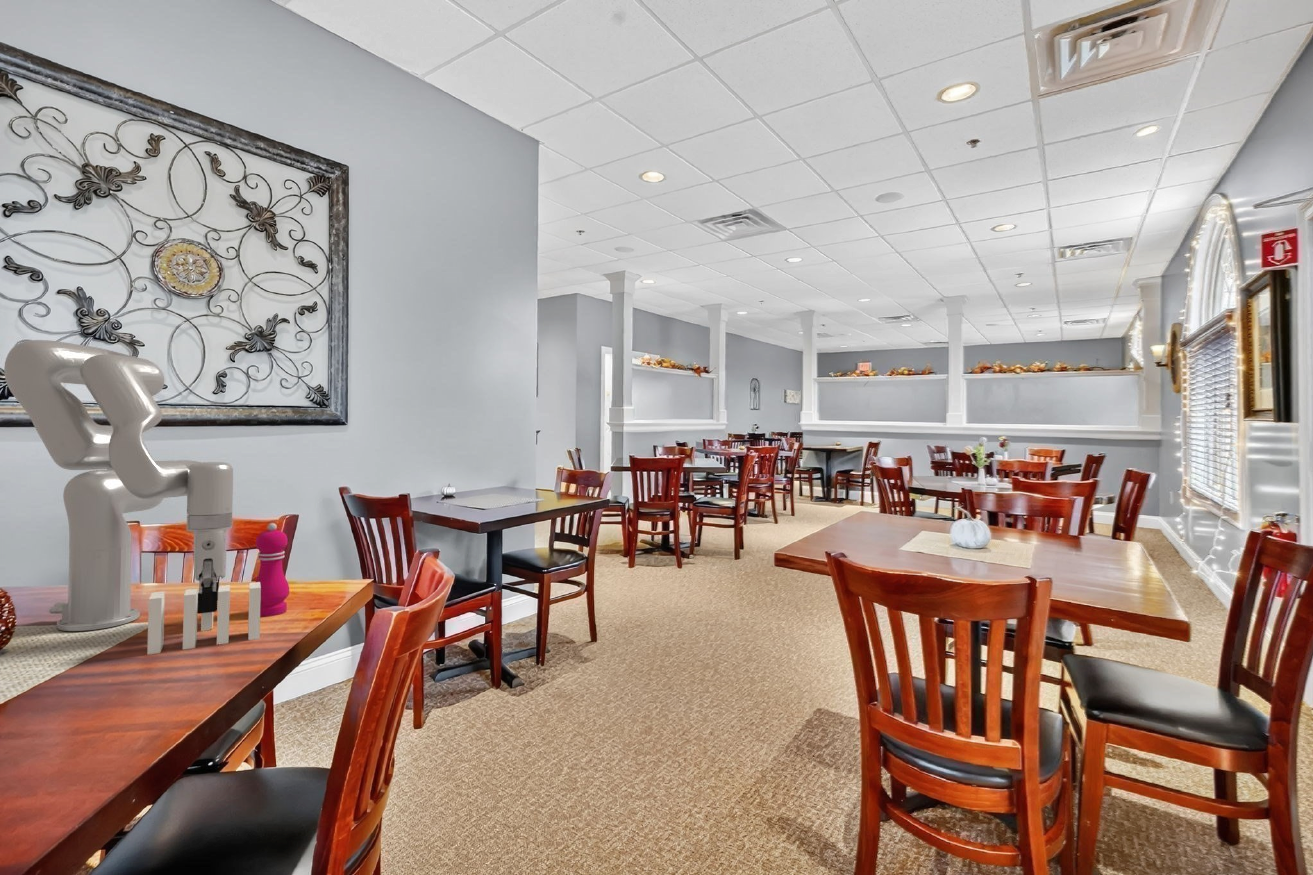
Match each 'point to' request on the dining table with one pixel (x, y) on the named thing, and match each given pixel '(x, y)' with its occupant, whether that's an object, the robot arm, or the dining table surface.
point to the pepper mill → (272, 571)
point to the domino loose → (206, 621)
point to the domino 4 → (254, 611)
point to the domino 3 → (223, 614)
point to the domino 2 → (190, 618)
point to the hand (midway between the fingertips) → (208, 606)
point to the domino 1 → (156, 622)
